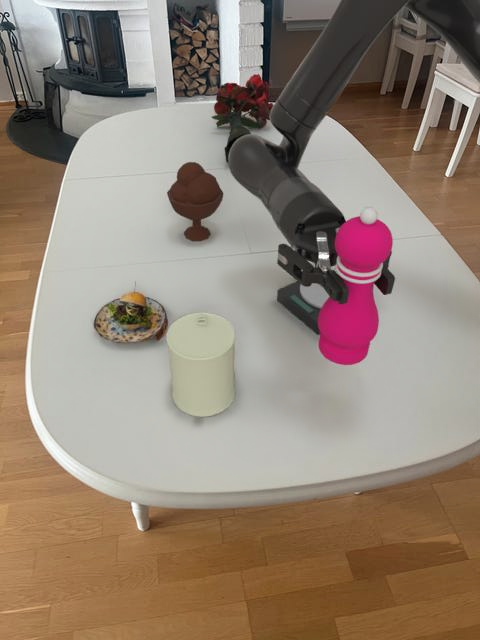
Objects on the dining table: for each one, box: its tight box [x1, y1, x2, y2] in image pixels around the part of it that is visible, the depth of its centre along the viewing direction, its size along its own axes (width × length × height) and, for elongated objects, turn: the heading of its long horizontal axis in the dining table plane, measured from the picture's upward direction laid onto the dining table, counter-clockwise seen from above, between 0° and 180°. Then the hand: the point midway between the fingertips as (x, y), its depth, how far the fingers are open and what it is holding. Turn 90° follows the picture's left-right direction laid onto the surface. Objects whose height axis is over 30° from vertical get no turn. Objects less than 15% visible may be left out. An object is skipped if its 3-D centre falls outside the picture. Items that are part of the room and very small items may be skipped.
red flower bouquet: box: [211, 73, 274, 163], centre depth 141 cm, size 16×18×35 cm
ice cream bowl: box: [166, 161, 225, 242], centre depth 103 cm, size 11×11×15 cm
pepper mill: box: [318, 206, 394, 366], centre depth 59 cm, size 7×7×20 cm
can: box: [166, 312, 236, 418], centre depth 72 cm, size 9×9×12 cm
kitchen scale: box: [276, 269, 333, 336], centre depth 91 cm, size 12×11×3 cm
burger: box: [93, 281, 169, 344], centre depth 84 cm, size 12×12×8 cm
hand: (367, 292), depth 57 cm, fingers closed on pepper mill, 5 cm apart
